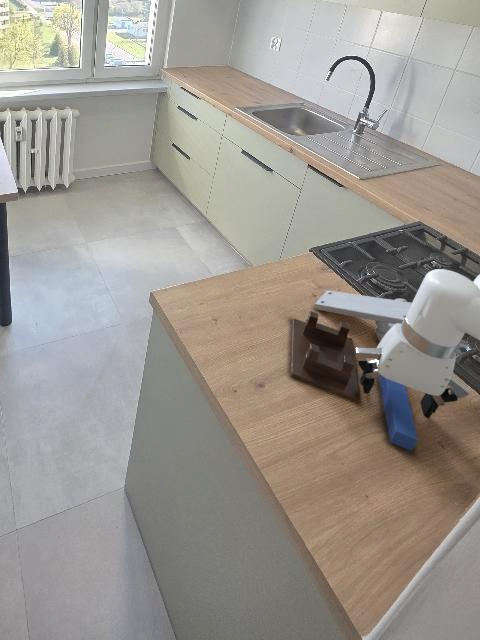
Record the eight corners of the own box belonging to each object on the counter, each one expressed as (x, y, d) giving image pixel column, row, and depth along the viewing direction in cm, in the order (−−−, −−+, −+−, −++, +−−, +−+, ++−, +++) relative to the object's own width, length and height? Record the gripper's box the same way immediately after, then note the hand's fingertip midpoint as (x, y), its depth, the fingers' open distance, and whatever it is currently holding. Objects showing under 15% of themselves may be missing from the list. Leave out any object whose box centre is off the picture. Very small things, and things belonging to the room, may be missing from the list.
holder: (350, 341, 92) (359, 320, 89) (358, 402, 80) (368, 379, 77) (292, 321, 97) (299, 300, 94) (290, 376, 84) (298, 353, 81)
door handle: (324, 335, 100) (424, 359, 84) (314, 303, 100) (412, 321, 84) (353, 299, 111) (447, 313, 94) (344, 270, 110) (437, 280, 94)
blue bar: (394, 373, 86) (400, 362, 84) (411, 451, 72) (418, 440, 71) (376, 366, 87) (381, 356, 85) (390, 442, 73) (396, 431, 72)
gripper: (482, 338, 72) (443, 401, 79) (368, 301, 78) (341, 363, 85) (499, 375, 66) (455, 440, 73) (373, 332, 72) (344, 396, 79)
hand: (393, 398), depth 79 cm, fingers open, 9 cm apart
